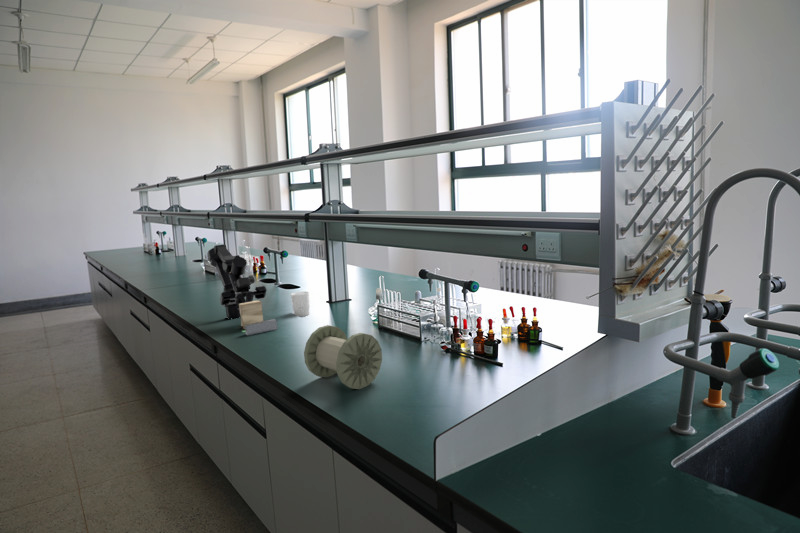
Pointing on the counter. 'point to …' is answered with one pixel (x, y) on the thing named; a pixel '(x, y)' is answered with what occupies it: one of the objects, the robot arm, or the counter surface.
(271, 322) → the grey rectangular bar
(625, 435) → the counter surface
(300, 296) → the white cup
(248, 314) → the block
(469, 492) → the counter surface
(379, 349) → the spool
